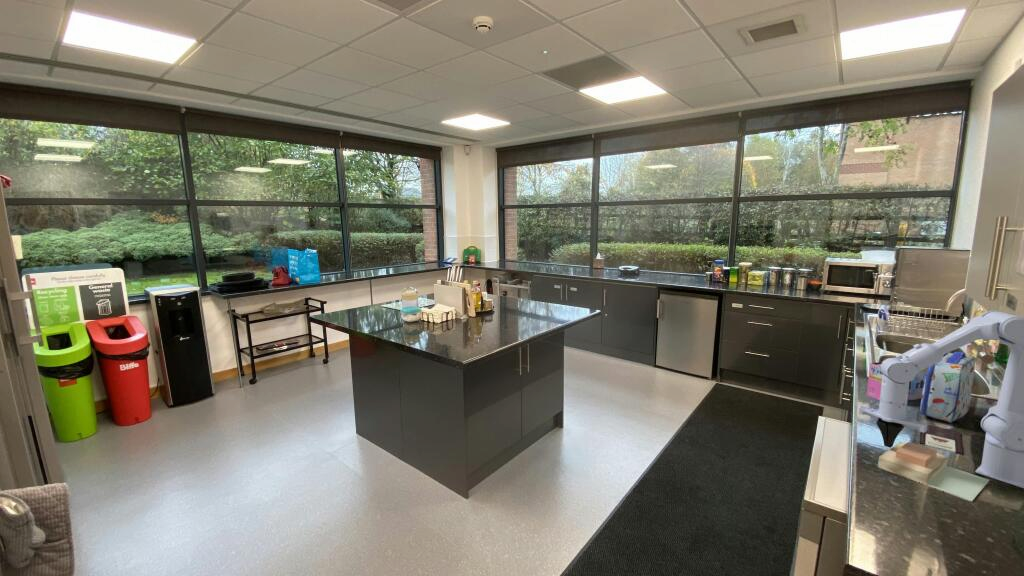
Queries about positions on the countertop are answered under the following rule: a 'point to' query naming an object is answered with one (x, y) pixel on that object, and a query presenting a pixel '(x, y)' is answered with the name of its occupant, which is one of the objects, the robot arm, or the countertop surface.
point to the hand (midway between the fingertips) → (888, 445)
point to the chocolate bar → (942, 439)
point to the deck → (911, 466)
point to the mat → (958, 483)
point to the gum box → (876, 381)
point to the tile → (916, 454)
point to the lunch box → (948, 387)
